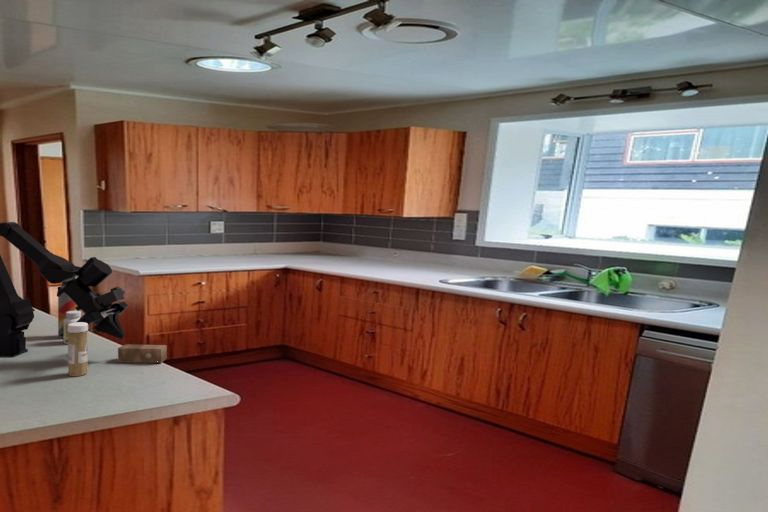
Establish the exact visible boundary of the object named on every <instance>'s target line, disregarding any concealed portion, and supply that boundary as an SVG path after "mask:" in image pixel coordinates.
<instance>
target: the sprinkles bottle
mask: <svg viewBox="0 0 768 512" xmlns="http://www.w3.org/2000/svg"><path fill="white" fill-rule="evenodd" d="M67 330H68V344H67V359H68V360H67V364H68V372H67V375H68V376H71V377H82V376H83V375H84V376H85V375H86V374H88V372H89V371H88V357H89V356H88V353H89V351H88V330H89V325H88V323H85V322H75V323H70V324H68V329H67Z"/></svg>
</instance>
